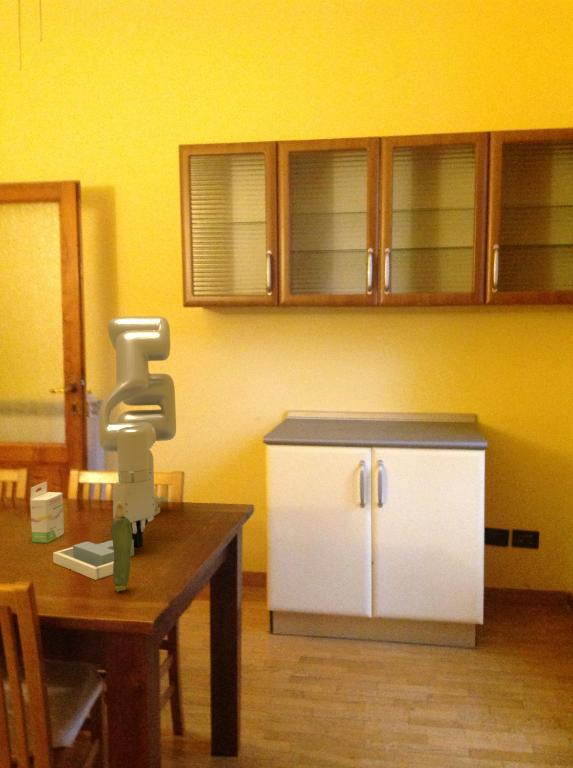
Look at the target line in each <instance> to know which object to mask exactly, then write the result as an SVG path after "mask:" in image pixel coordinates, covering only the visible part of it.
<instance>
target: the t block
mask: <svg viewBox="0 0 573 768" xmlns="http://www.w3.org/2000/svg"><path fill="white" fill-rule="evenodd" d="M72 547H73V556H74V558H75V559H77V560H80V561H82V562H85V563H88V564H90V565H93V566H95V567H98V566H101V565H104V564H107V563H111V562H114V547H113V541H112V539H111V540H107V541H105V542H100V543H98V544H97V543H94V542H90V541H84V542H80V543H77V544H74V545H72ZM134 556H135V548H134V540H133V539H132V544H131V554H130V557H134Z"/></svg>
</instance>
